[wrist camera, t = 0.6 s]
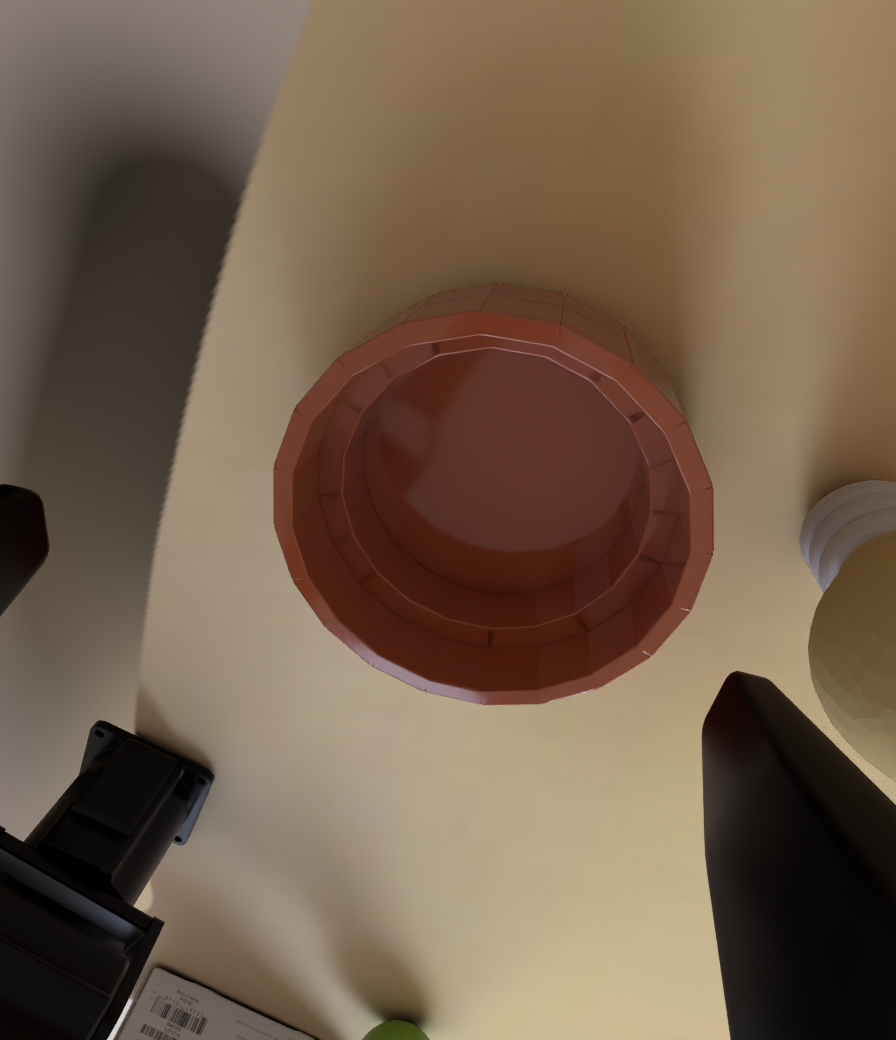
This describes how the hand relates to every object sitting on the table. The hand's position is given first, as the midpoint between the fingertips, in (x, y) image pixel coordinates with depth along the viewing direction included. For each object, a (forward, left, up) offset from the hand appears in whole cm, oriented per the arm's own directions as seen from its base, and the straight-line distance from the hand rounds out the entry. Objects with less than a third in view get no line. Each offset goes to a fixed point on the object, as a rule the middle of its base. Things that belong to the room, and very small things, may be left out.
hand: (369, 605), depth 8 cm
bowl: (-4, -2, -14) cm, 15 cm away
